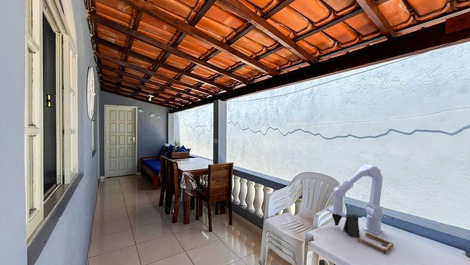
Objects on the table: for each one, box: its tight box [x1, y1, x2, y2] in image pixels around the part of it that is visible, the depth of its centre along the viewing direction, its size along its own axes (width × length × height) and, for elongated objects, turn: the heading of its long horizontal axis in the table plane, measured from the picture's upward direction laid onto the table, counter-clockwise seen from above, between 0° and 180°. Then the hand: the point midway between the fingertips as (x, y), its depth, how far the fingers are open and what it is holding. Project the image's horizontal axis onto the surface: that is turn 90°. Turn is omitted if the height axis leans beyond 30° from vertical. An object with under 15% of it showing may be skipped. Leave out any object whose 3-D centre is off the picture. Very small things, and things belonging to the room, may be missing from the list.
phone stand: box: [342, 214, 361, 239], centre depth 123 cm, size 9×6×12 cm, turn 175°
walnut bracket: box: [357, 231, 394, 255], centre depth 113 cm, size 12×14×2 cm
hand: (336, 224), depth 131 cm, fingers closed
